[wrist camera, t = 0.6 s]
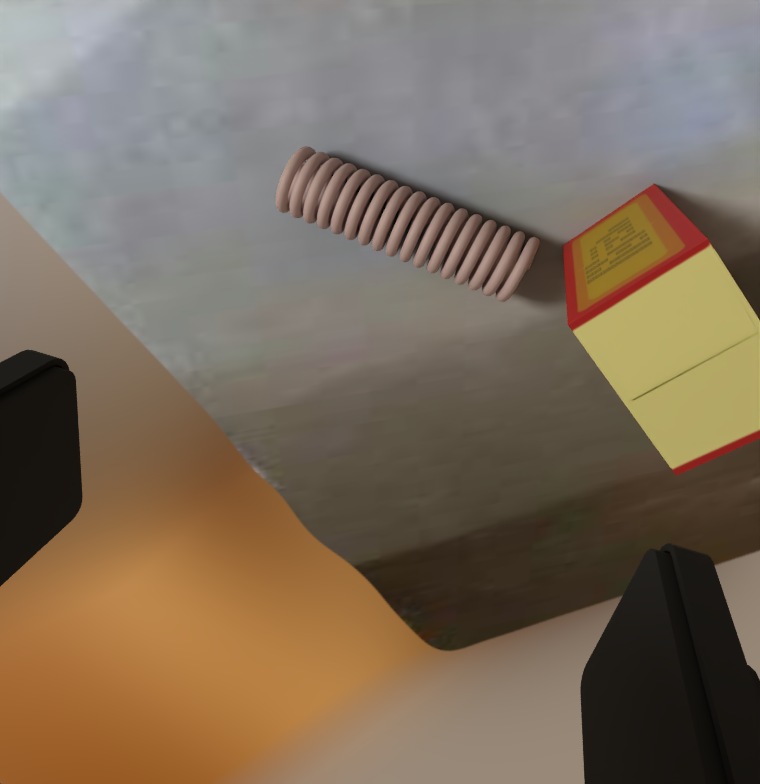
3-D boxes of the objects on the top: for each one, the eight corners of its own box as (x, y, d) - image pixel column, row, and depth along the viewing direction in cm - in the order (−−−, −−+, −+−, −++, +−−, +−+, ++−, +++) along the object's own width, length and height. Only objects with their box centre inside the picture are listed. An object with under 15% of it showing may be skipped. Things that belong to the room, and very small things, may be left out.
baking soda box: (562, 245, 42) (568, 327, 28) (654, 183, 39) (710, 240, 25) (638, 353, 44) (677, 479, 30) (730, 302, 41) (821, 416, 27)
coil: (546, 245, 38) (279, 139, 39) (514, 314, 40) (260, 210, 41) (543, 236, 43) (303, 140, 44) (515, 299, 45) (285, 205, 46)
